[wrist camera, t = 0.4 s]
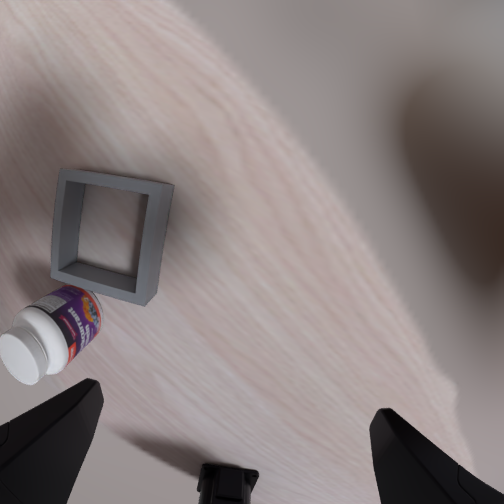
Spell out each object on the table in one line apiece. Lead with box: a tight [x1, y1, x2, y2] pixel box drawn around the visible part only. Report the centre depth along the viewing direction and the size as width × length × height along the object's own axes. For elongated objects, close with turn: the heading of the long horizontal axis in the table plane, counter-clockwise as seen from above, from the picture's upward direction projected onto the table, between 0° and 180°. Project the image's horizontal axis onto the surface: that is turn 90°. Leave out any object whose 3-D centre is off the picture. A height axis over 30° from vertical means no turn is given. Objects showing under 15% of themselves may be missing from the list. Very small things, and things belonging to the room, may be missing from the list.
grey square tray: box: [51, 169, 174, 307], centre depth 21 cm, size 9×9×3 cm
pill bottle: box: [0, 284, 103, 385], centre depth 19 cm, size 5×5×10 cm
